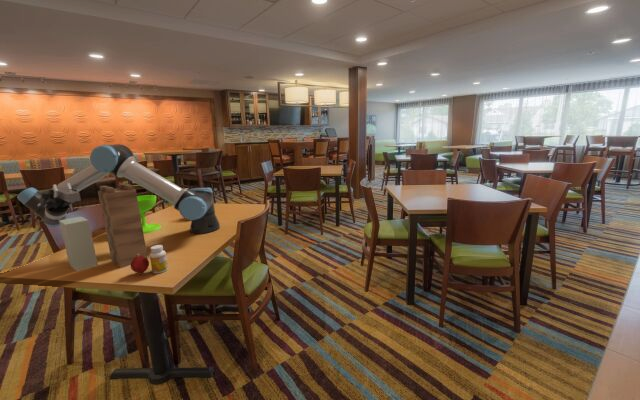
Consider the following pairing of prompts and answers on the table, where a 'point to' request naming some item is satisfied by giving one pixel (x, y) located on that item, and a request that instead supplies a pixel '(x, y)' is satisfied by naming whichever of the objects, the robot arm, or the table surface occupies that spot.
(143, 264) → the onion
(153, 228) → the wineglass
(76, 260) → the rest block
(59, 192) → the bar
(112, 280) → the table surface
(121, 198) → the stand
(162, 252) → the supplement bottle
